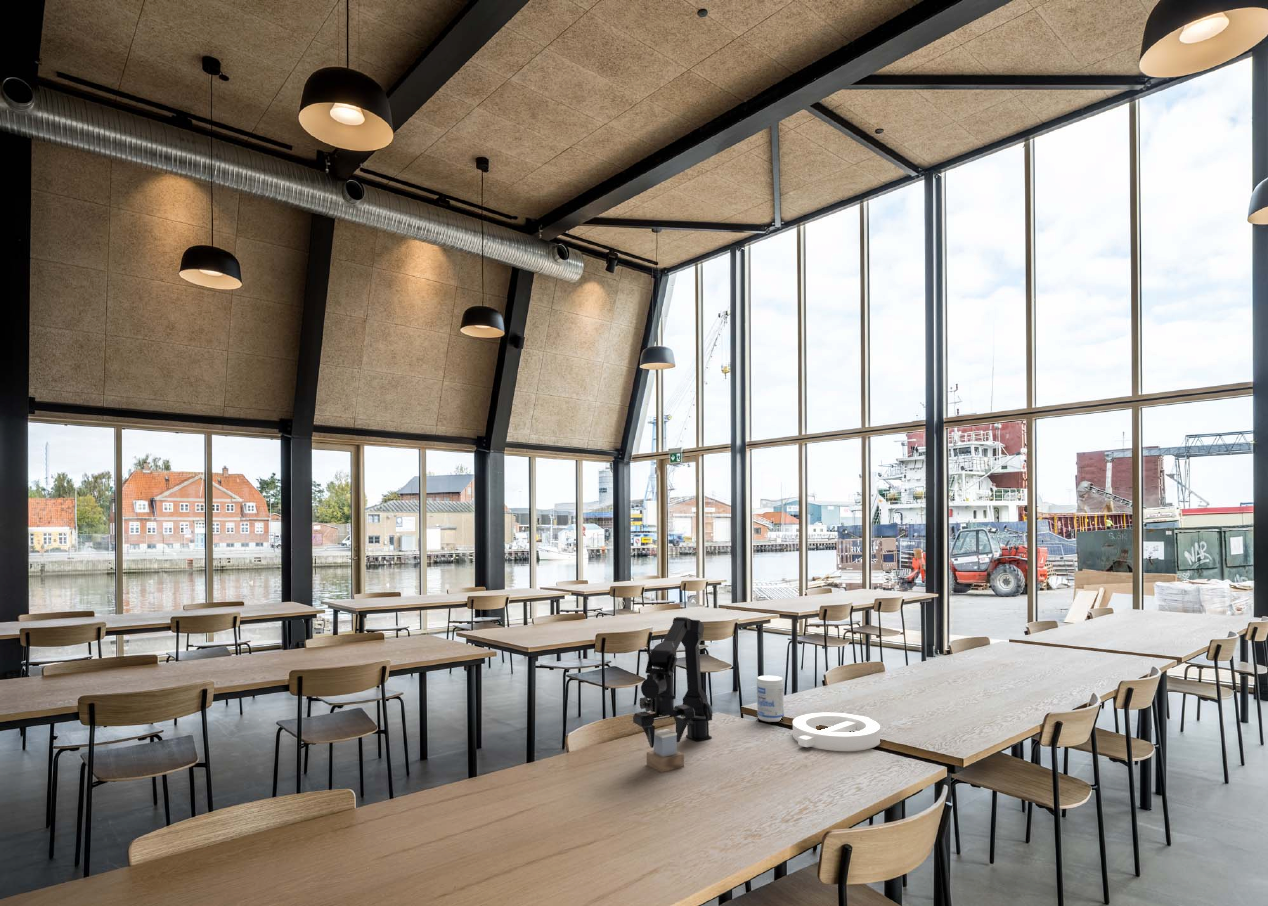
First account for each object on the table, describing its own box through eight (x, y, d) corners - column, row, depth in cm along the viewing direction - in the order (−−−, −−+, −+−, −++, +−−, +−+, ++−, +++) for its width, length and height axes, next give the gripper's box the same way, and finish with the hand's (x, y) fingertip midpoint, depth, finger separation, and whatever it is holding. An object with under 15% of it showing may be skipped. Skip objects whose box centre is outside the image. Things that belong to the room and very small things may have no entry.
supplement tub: (755, 721, 256) (753, 679, 257) (760, 714, 264) (758, 674, 266) (782, 723, 252) (780, 681, 254) (786, 716, 261) (784, 675, 263)
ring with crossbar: (869, 726, 247) (868, 712, 248) (890, 752, 220) (889, 736, 220) (788, 726, 250) (787, 712, 251) (799, 751, 222) (798, 736, 223)
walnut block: (668, 760, 217) (668, 747, 217) (684, 767, 210) (683, 753, 210) (646, 765, 212) (646, 752, 213) (661, 773, 206) (661, 759, 206)
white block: (668, 749, 215) (667, 728, 215) (677, 753, 210) (676, 732, 211) (653, 752, 212) (653, 731, 213) (662, 756, 208) (662, 735, 208)
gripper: (674, 682, 225) (676, 733, 223) (623, 690, 216) (624, 743, 214) (694, 689, 215) (696, 742, 214) (642, 697, 206) (643, 753, 204)
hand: (664, 744), depth 212 cm, fingers open, 9 cm apart
